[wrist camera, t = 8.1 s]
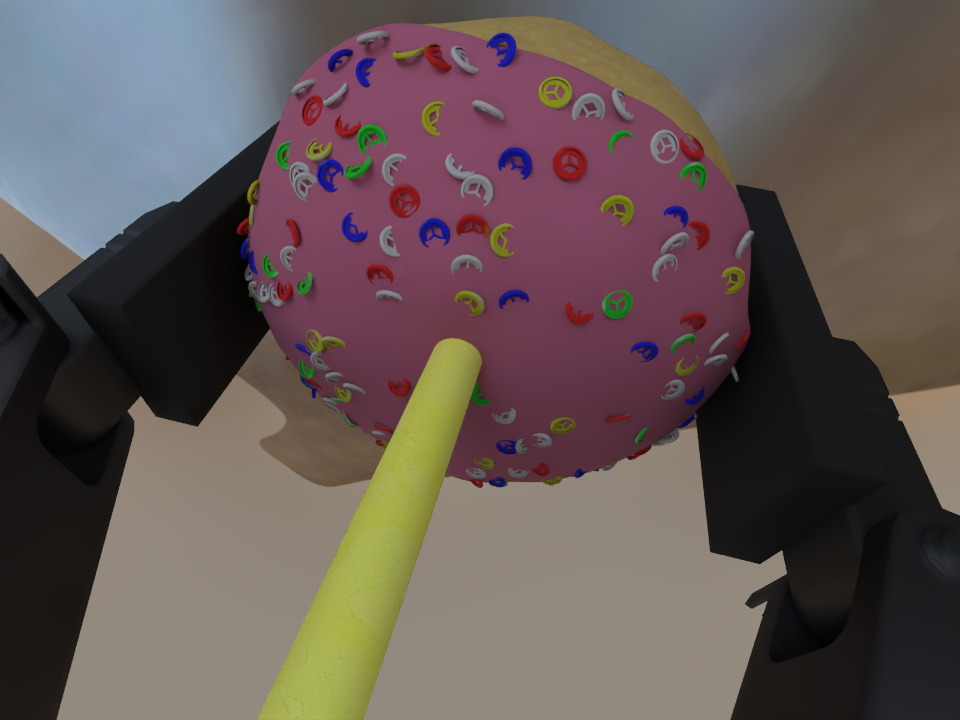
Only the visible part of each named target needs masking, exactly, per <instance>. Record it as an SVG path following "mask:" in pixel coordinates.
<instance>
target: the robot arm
mask: <svg viewBox="0 0 960 720" xmlns="http://www.w3.org/2000/svg"><path fill="white" fill-rule="evenodd" d="M279 123H280V121H279V122H277V123H276V124H275V125H274V126H272V127H271V128H270V129H269V130H267V131H266V132H265V133H264V134H263V135H261V136H260V137H259V138H258V139H256V140H255V141H254V142H253V143H251V144H250V145H249V146H248V147H247V148H245V149H244V150H243V151H242V152H240V153H239V154H238V155H237V156H235V157H234V158H233V159H232V160H231V161H229V162H228V163H227V164H226V165H224V166H223V167H222V168H221V169H219V170H218V171H217V172H216V173H215V174H213V175H212V176H211V177H210V178H208V179H207V180H206V181H205V182H203V183H202V184H201V185H200V186H198V187H197V188H196V189H195V190H194V191H192V192H191V193H190V194H189V195H187V196H186V197H185V198H184V199H182V200H181V201H180V202H175V201H173V202H171V203H168V204H166V205H164V206H161V207H159V208H157V209H154V210H152V211H150V212H147V213H145V214H144V215H142V216H141V217H140V218H138V219H137V220H136V221H135V222H133V223H132V224H131V225H129V226H128V227H127V228H126V229H124V230H123V231H124V233H123V234H118V235H117V236H115V237H114V238H113V239H112V240H110V241H109V242H108V243H106V248H100V249H99V250H97V251H96V252H95V253H94V254H92V255H91V256H90V257H88V258H87V259H86V260H85V261H83V262H82V263H81V264H79V265H78V266H77V267H76V268H74V269H73V270H72V271H71V272H69V273H68V274H67V275H65V276H64V277H63V278H62V279H60V280H59V281H58V282H56V283H55V284H54V285H52V286H51V287H50V288H49V289H47V290H46V291H45V292H43V293H42V294H41V295H40V296H38V297H36V296H35V295H34V294H33V292H32V291H31V290H30V289H29V287H28V286H27V285H26V284H25V282H24V281H23V280H22V279H21V277H20V276H19V275H18V274H17V273H16V271H15V270H14V269H13V268H12V266H11V265H10V264H9V262H8V261H7V260H6V259H5V258H4V256H3V255H2V254H0V720H56V719H57V716H58V711H59V708H60V704H61V701H62V697H63V693H64V690H65V686H66V682H67V678H68V675H69V671H70V667H71V664H72V660H73V656H74V652H75V648H76V645H77V641H78V638H79V634H80V630H81V627H82V623H83V619H84V616H85V612H86V608H87V605H88V601H89V597H90V594H91V590H92V586H93V582H94V579H95V575H96V571H97V568H98V563H99V560H100V557H101V553H102V549H103V545H104V542H105V538H106V534H107V531H108V527H109V523H110V519H111V516H112V512H113V508H114V505H115V501H116V497H117V494H118V490H119V486H120V483H121V479H122V475H123V472H124V468H125V464H126V460H127V457H128V453H129V449H130V445H131V442H132V438H133V435H134V420H133V418H132V417H131V416H130V414H129V413H128V409H130V407H131V406H132V405H133V404H134V403H135V402H136V400H137V399H138V398H139V397H140V396H141V397H142V398H143V399H144V401H145V402H146V404H147V405H148V406H149V408H150V409H151V410H152V412H153V413H154V414H155V416H156V417H160V418H164V419H168V420H172V421H177V422H181V423H185V424H189V425H194V426H199V424H200V422H201V421H202V420H203V419H204V417H205V416H206V415H207V413H208V412H209V411H210V409H211V408H212V407H213V405H214V404H215V402H216V401H217V400H218V398H219V397H220V396H221V394H222V393H223V391H224V390H225V389H226V387H227V386H228V385H229V383H230V382H231V381H232V379H233V378H234V377H235V375H236V374H237V372H238V371H239V370H240V368H241V367H242V366H243V364H244V363H245V362H246V360H247V359H248V357H249V356H250V355H251V353H252V352H253V351H254V349H255V348H256V347H257V345H258V344H259V343H260V341H261V340H262V338H263V337H264V336H265V334H266V333H267V332H268V330H269V329H270V327H269V325H268V323H267V321H266V319H265V316H264V314H263V312H262V311H258V310H257V309H256V306H255V303H254V297H253V296H252V297H249V293H250V291H249V283H250V282H252V281H247V280H246V279H245V270H246V268H247V266H248V264H249V258H247V259H244V258H242V256H241V247H242V245H243V242H244V241H245V239H246V238H248V233H247V234H245V235H239V234H238V233H237V228H238V227H239V225H240V224H241V223H242V222H243V221H244V220H245V219H247V218H249V213H250V208H251V204H250V203H249V202H248V199H247V195H248V190H249V188H250V186H251V185H252V183H253V182H254V181H256V180H258V179H259V176H260V173H261V170H262V167H263V165H264V162H265V159H266V157H267V154H268V151H269V149H270V146H271V144H272V141H273V138H274V136H275V133H276V131H277V128H278V125H279ZM736 188H737V191H738V195H739V197H740V199H741V201H742V203H743V205H744V208H745V211H746V214H747V217H748V222H749V228H750V231H753V232H754V236H753V239H752V241H751V264H750V280H749V292H748V319H749V323H750V332H751V334H750V337H749V340H748V343H747V345H746V347H745V349H744V351H743V353H742V355H741V356H740V358H739V360H738V361H737V363H736V364H735V366H734V367H735V370H736V372H737V375H738V377H739V381H737V382H736V381H735V380H734V379H733V377H732V375H731V373H729V374H728V376H727V377H726V378H725V380H724V381H723V382H722V383H721V385H720V386H719V387H718V388H717V389H716V391H715V392H714V393H713V394H712V395H711V396H710V397H709V398H708V399H707V401H706V402H705V403H704V404H703V405H702V406H701V407H700V408H699V409H698V410H696V411H695V414H696V415H697V418H696V423H697V433H698V442H699V451H700V461H701V470H702V479H703V489H704V498H705V508H706V516H707V526H708V535H709V545H710V552H713V553H717V554H721V555H725V556H729V557H733V558H737V559H741V560H745V561H749V562H753V563H757V564H761V563H762V562H764V561H765V560H767V559H769V558H770V557H772V556H773V555H775V554H776V553H778V552H780V551H781V550H782V551H783V556H784V561H785V565H786V570H787V574H786V575H784V576H782V577H781V578H779V579H777V580H775V581H774V582H772V583H770V584H768V585H766V586H765V587H763V588H761V589H759V590H758V591H756V592H754V593H752V594H751V596H750V597H749V599H748V600H747V602H746V603H745V604H746V605H747V606H748V607H750V608H754V607H756V606H758V605H760V604H762V603H764V602H766V601H768V602H767V605H766V608H765V611H764V614H763V615H762V616H763V617H762V621H761V624H760V627H759V631H758V633H757V637H756V640H755V643H754V646H753V649H752V653H751V656H750V659H749V662H748V666H747V669H746V672H745V675H744V678H743V682H742V684H741V688H740V691H739V694H738V697H737V701H736V704H735V707H734V710H733V713H732V717H731V720H960V516H959V515H957V514H954V513H952V512H950V511H947V510H945V509H943V508H942V507H941V505H940V503H939V500H938V498H937V496H936V494H935V492H934V490H933V488H932V485H931V483H930V481H929V479H928V476H927V474H926V472H925V470H924V468H923V465H922V463H921V461H920V459H919V457H918V455H917V452H916V450H915V448H914V446H913V444H912V441H911V439H910V437H909V435H908V433H907V431H906V428H905V426H904V424H903V422H902V421H899V420H898V417H899V416H900V415H899V414H898V411H897V409H896V407H895V404H894V402H893V400H892V399H891V398H888V395H889V394H890V393H889V391H888V389H887V387H886V385H885V382H884V380H883V378H882V376H881V374H880V372H879V369H878V367H877V366H876V365H875V364H874V363H873V362H872V360H871V359H870V358H869V357H868V356H867V355H866V354H865V353H864V352H863V351H862V350H861V348H860V347H859V346H858V345H857V344H856V343H855V342H854V341H849V340H844V339H839V338H835V337H832V335H831V332H830V330H829V327H828V325H827V322H826V320H825V317H824V314H823V312H822V309H821V307H820V304H819V302H818V299H817V297H816V294H815V292H814V289H813V287H812V284H811V282H810V279H809V277H808V274H807V271H806V269H805V266H804V264H803V261H802V259H801V256H800V254H799V251H798V249H797V246H796V244H795V241H794V239H793V236H792V234H791V231H790V228H789V226H788V223H787V221H786V218H785V216H784V213H783V211H782V208H781V206H780V203H779V201H778V198H777V196H776V193H775V192H774V191H769V190H764V189H758V188H753V187H748V186H743V185H736ZM254 192H255V190H254ZM254 192H253V195H254ZM245 227H246V225H245V226H244V228H243V229H242V230H244V229H245ZM246 249H247V247H246ZM246 249H245V251H246ZM249 275H251V272H249ZM259 306H260V305H259Z"/></svg>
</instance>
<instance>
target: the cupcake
mask: <svg viewBox="0 0 960 720" xmlns="http://www.w3.org/2000/svg"><path fill="white" fill-rule="evenodd" d="M254 190H255V192H254ZM253 192H254V195H253ZM247 199H248V202H249V203H250V204H251V208H250V213H249V218H247V219H245V220H244V221H243V222H242V223H241V224H240V225H239V227H238V228H237V233H238V234H239V235H245V234H247V233H248V238H246V239H245V241H244V242H243V245H242V247H241V256H242V258H244V259H247V258H249V264H248V266H247V268H246V270H245V279H246V280H247V281H252V282H250V283H249V291H250V293H249V297H252V296H253V297H254V303H255V306H256V309H257V310H258V311H262V312H263V314H264V316H265V319H266V321H267V323H268V325H269V327H270V329H271V331H272V333H273V335H274V337H275V339H276V341H277V343H278V344H279V346H280V348H281V349H282V351H283V352H284V353H285V355H286V360H290V361H291V362H292V364H293V365H294V366H295V367H296V368H297V370H298V371H299V372H300V373H301V374H300V379H301V381H302V383H303V384H304V385H305V386H306V387H308V388H311V389H312V398H315V397H316V391H317V392H318V393H319V394H320V395H321V396H322V400H325V401H326V402H325V405H327V406H328V407H330V408H331V409H333V410H335V411H336V412H338V413H341V414H342V415H343V417H344V419H345V421H346V422H347V423H348V424H349V425H350V426H351V427H356V426H358V427H360V428H361V429H363V430H364V432H365V433H366V434H368V435H372V436H373V437H375V438H376V439H377V441H376V444H377V445H378V446H383V447H384V448H385V452H384V454H383V457H382V459H381V461H380V463H379V465H378V467H377V469H376V471H375V473H374V475H373V477H372V480H371V482H370V484H369V486H368V488H367V490H366V492H365V494H364V496H363V498H362V501H361V503H360V505H359V507H358V509H357V511H356V513H355V515H354V517H353V519H352V522H351V524H350V526H349V528H348V530H347V532H346V534H345V536H344V538H343V540H342V542H341V545H340V547H339V549H338V551H337V553H336V555H335V557H334V559H333V561H332V564H331V566H330V568H329V570H328V572H327V574H326V576H325V578H324V580H323V582H322V584H321V586H320V589H319V591H318V593H317V595H316V597H315V599H314V601H313V603H312V605H311V607H310V610H309V612H308V614H307V616H306V618H305V620H304V622H303V624H302V626H301V628H300V631H299V633H298V635H297V637H296V639H295V641H294V643H293V645H292V647H291V649H290V652H289V654H288V656H287V658H286V660H285V662H284V664H283V666H282V668H281V670H280V672H279V675H278V677H277V679H276V681H275V683H274V685H273V687H272V689H271V691H270V693H269V696H268V698H267V700H266V702H265V704H264V706H263V708H262V710H261V712H260V715H259V716H258V719H257V720H363V719H364V716H365V713H366V710H367V707H368V704H369V701H370V698H371V695H372V692H373V689H374V686H375V683H376V680H377V677H378V674H379V671H380V668H381V665H382V662H383V659H384V656H385V653H386V650H387V647H388V644H389V641H390V638H391V635H392V632H393V629H394V626H395V623H396V620H397V617H398V614H399V611H400V608H401V605H402V602H403V599H404V596H405V593H406V590H407V587H408V584H409V581H410V578H411V575H412V572H413V569H414V566H415V563H416V560H417V557H418V554H419V551H420V548H421V545H422V542H423V539H424V536H425V533H426V530H427V527H428V524H429V521H430V518H431V515H432V512H433V509H434V506H435V503H436V500H437V497H438V494H439V491H440V488H441V485H442V482H443V479H444V477H450V476H453V477H456V478H459V479H462V480H467V481H471V482H472V483H473V484H474V485H475V486H477V487H479V488H481V487H483V483H482V482H489V484H490V485H492V486H496V487H503V486H506V485H507V482H543V483H545V484H547V485H550V486H553V485H554V484H558V483H560V482H561V481H562V478H567V477H574V476H575V477H576V478H579V477H581V476H582V475H584V474H585V473H587V472H590V471H599V469H600V468H602V470H603V471H607V470H610V469H611V468H612V467H613V466H615V464H616V463H617V462H618V461H620V460H622V459H624V458H628V459H629V460H632V459H635V458H637V457H638V456H640V455H643V454H645V453H646V452H647V451H649V450H650V449H651V446H652V445H653V446H661V445H664V444H666V443H671V442H673V441H675V440H676V439H677V438H678V436H679V431H678V430H677V429H676V428H683V427H685V426H687V425H688V424H689V423H690V422H692V421H694V420H695V419H696V418H697V415H696V414H695V413H694V412H695V411H696V410H698V409H699V408H700V407H701V406H702V405H703V404H704V403H705V402H706V401H707V399H708V398H709V397H710V396H711V395H712V394H713V393H714V392H715V391H716V389H717V388H718V387H719V386H720V385H721V383H722V382H723V381H724V380H725V378H726V377H727V376H728V374H729V373H731V375H732V377H733V379H734V380H735V381H736V382H737V381H739V377H738V375H737V372H736V370H735V367H734V366H735V364H736V363H737V361H738V360H739V358H740V356H741V355H742V353H743V351H744V349H745V347H746V345H747V343H748V340H749V337H750V334H751V332H750V323H749V319H748V292H749V280H750V264H751V241H752V239H753V236H754V232H753V231H750V228H749V222H748V217H747V214H746V211H745V208H744V205H743V203H742V201H741V199H740V197H739V195H738V191H737V188H736V185H735V182H734V179H733V176H732V173H731V171H730V169H729V166H728V164H727V162H726V160H725V158H724V155H723V153H722V151H721V149H720V147H719V145H718V144H717V142H716V140H715V138H714V137H713V135H712V133H711V132H710V130H709V129H708V127H707V125H706V124H705V122H704V121H703V119H702V118H701V116H700V115H699V114H698V112H697V111H696V110H695V108H694V107H693V106H692V105H691V103H690V102H689V101H688V100H687V99H686V98H685V96H684V95H683V94H682V93H681V92H680V91H679V90H678V89H677V88H676V87H675V86H674V85H673V84H672V83H671V82H670V81H669V80H668V79H666V78H665V77H664V76H663V75H661V74H660V73H659V72H657V71H655V70H654V69H652V68H651V67H649V66H648V65H646V64H644V63H642V62H641V61H639V60H637V59H635V58H633V57H632V56H630V55H628V54H626V53H624V52H622V51H621V50H619V49H617V48H615V47H613V46H612V45H610V44H608V43H607V42H605V41H603V40H602V39H600V38H599V37H597V36H595V35H594V34H592V33H590V32H589V31H587V30H585V29H584V28H582V27H580V26H577V25H575V24H573V23H570V22H568V21H565V20H561V19H556V18H552V17H541V16H523V17H504V18H490V19H478V20H469V21H461V22H453V23H436V24H422V25H420V24H412V23H394V24H387V25H382V26H378V27H375V28H372V29H370V30H367V31H365V32H362V33H360V34H358V35H356V36H354V37H352V38H350V39H348V40H346V41H344V42H342V43H341V44H339V45H337V46H336V47H334V48H333V49H331V50H330V51H328V52H327V53H325V54H324V55H323V56H322V57H320V58H319V59H318V60H317V61H315V62H314V63H313V64H312V65H311V66H310V67H309V68H308V69H307V70H306V71H305V73H304V74H303V75H302V76H301V78H300V79H299V80H298V82H297V83H296V85H295V87H294V88H293V89H292V92H291V94H290V96H289V99H288V101H287V104H286V107H285V109H284V112H283V115H282V118H281V120H280V123H279V125H278V128H277V131H276V133H275V136H274V138H273V141H272V144H271V146H270V149H269V151H268V154H267V157H266V159H265V162H264V165H263V167H262V170H261V173H260V176H259V179H258V180H256V181H254V182H253V183H252V185H251V186H250V188H249V190H248V195H247ZM245 225H246V227H245V229H244V230H242V229H243V228H244V226H245ZM246 247H247V249H246ZM245 249H246V251H245ZM249 272H251V275H249ZM259 305H260V306H259ZM689 417H690V418H689ZM688 418H689V419H688ZM349 420H350V421H349ZM672 436H673V437H672ZM381 442H382V443H381ZM656 442H657V443H656ZM632 455H634V456H632ZM608 465H609V466H608ZM606 466H608V467H606ZM553 480H554V481H553ZM477 482H478V483H477Z"/></svg>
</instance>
